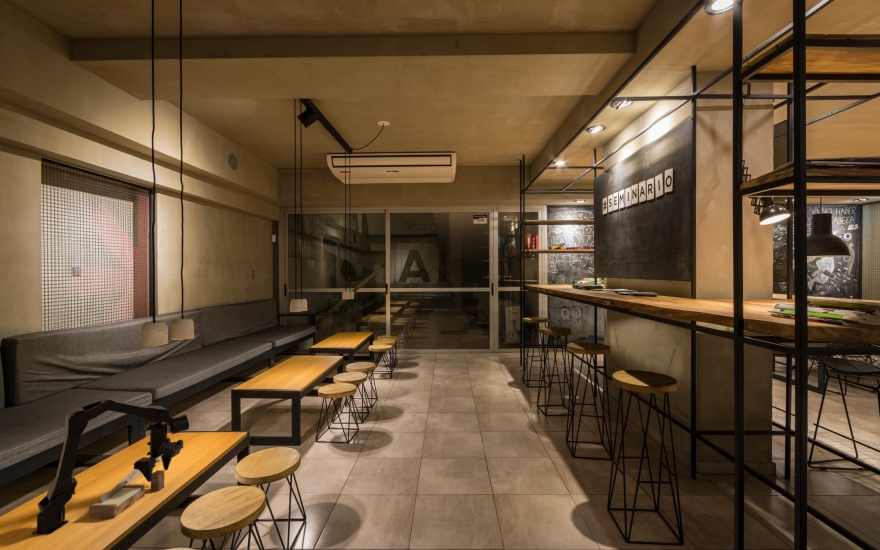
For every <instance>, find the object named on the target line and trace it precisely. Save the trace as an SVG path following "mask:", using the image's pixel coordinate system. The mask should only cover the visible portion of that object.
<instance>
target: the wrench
mask: <svg viewBox="0 0 880 550" xmlns="http://www.w3.org/2000/svg"><path fill="white" fill-rule="evenodd" d="M148 457H151V456H150V455H148ZM158 462H162V459H161V456H160V457H159V458H157V459H156V463H158ZM141 474H142V473H141V472H140V470H137V469H134V468H133V470H132V471H131V472H129V473H128V474H127V475H126V476H124V478H122V479H120V481H119V482H118V486H122V485H130V483H131V482H133V481H134V480H135V478H137V477H138V476H139V475H141ZM118 486H117V487H118Z"/></svg>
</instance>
